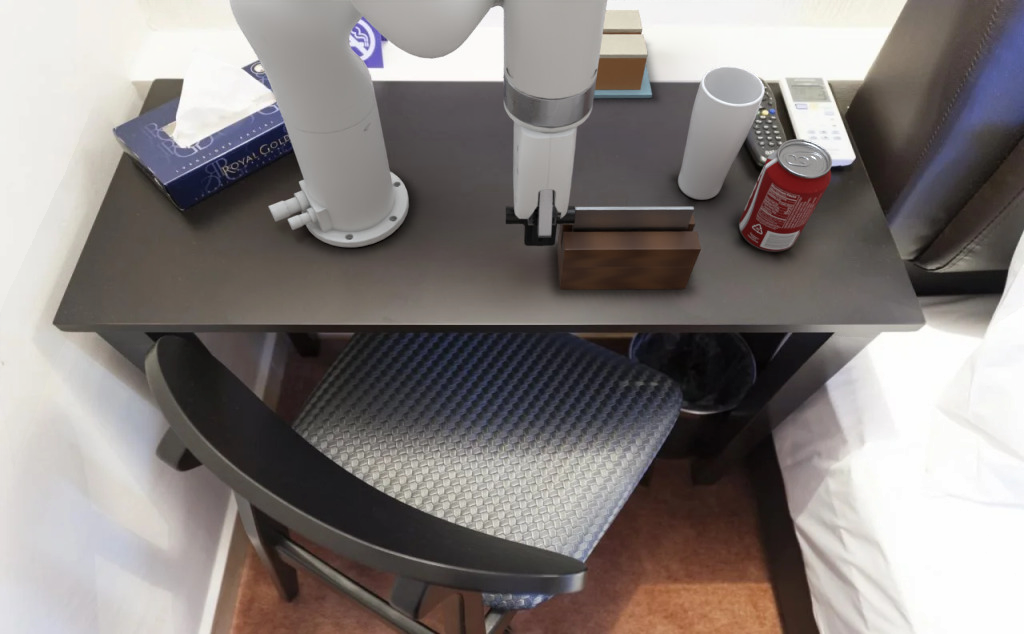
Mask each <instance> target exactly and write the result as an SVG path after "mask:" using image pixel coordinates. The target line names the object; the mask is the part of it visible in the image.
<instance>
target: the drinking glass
mask: <svg viewBox="0 0 1024 634" xmlns="http://www.w3.org/2000/svg"><path fill="white" fill-rule="evenodd" d="M765 92H766V91H765V84H764V82H763V81H762V79H760V78H759V76H757V75H756V74H755V73H754V72H752V71H751V70H748V69H745V68H743V67H739V66H734V65H721V66H716V67H714V68H711V69H709V70H708V71H706V72H705V73H704V74H703V76H702V78H701V81H700V83H699V86H698V89H697V92H696V95H695V98H694V101H693V106H692V108H691V109H692V110H691V114H690V119H689V124H688V130H687V136H686V141H685V146H684V152H683V156H682V162H681V167H680V170H679V174H678V177H677V184H678V188H679V190H680V191H681V192H682V193H683V194H684V195H685V196H687V197H689V198H691V199H694V200H698V201H705V200H710V199H712V198H714V197H717V196H718V194H719V193H720V191H721V190H722V187H723V185H724V182H725V180H726V179H727V176H728V174H729V172H730V170H731V168H732V166H733V164H734V162H735V161H736V158H737V156H738V154H739V152H740V151H741V148H742V147H743V145H744V143H745V141H746V139H747V138H748V135H749V133H750V131H751V129H752V128H753V125H754V123H755V121H756V119H757V116H758V113H759V111H760V108H761V105H762V102H763V99H764V96H765Z"/></svg>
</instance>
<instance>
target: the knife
mask: <svg viewBox="0 0 1024 634" xmlns="http://www.w3.org/2000/svg"><path fill="white" fill-rule="evenodd" d="M694 211H695V207H694V206H575V205H568V209H567V213H566V215H565V216H564V217H562V218H560V216H557V225H560V224H573V227H572V232H675V231H687V228H688V225H689V222H690V219H691V216H692V213H693V214H694ZM534 213H538V209H535V210H534ZM524 224H525V219H519V218H518V217H517V216H516V215H515V211H514V205H506V206H505V225H524Z"/></svg>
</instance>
